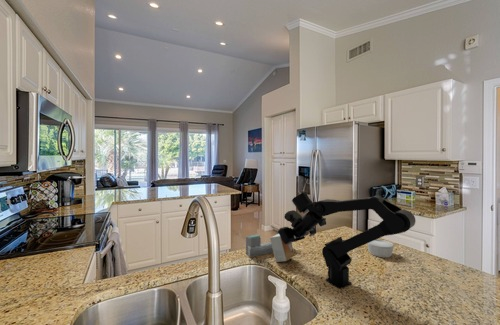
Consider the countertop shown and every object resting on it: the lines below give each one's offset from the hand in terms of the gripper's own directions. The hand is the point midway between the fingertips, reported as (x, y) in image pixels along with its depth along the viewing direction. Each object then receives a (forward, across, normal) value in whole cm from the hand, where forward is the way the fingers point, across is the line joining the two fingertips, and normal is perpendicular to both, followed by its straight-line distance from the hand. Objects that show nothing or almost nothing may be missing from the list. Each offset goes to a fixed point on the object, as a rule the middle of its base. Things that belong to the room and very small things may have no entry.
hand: (286, 241), depth 103 cm
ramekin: (-10, -41, +21) cm, 47 cm away
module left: (+17, +6, -5) cm, 19 cm away
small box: (+6, 0, +5) cm, 8 cm away
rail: (+14, -2, -2) cm, 15 cm away
